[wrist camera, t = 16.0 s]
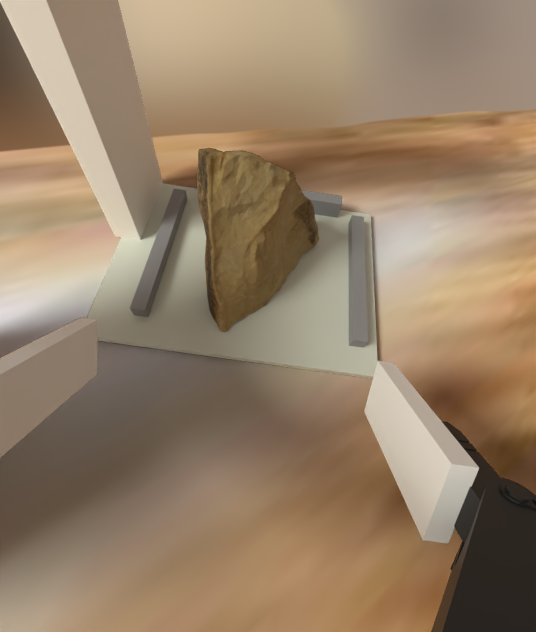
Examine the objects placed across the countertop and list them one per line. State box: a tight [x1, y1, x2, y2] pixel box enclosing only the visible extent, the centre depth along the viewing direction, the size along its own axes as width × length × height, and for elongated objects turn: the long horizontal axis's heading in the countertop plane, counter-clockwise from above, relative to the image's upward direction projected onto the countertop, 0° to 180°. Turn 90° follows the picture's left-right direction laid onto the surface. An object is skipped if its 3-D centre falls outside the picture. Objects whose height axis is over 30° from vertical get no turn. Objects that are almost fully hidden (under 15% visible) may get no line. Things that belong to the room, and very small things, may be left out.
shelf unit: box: [0, 0, 378, 379], centre depth 17 cm, size 21×15×20 cm
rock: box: [197, 148, 319, 332], centre depth 22 cm, size 11×9×10 cm
